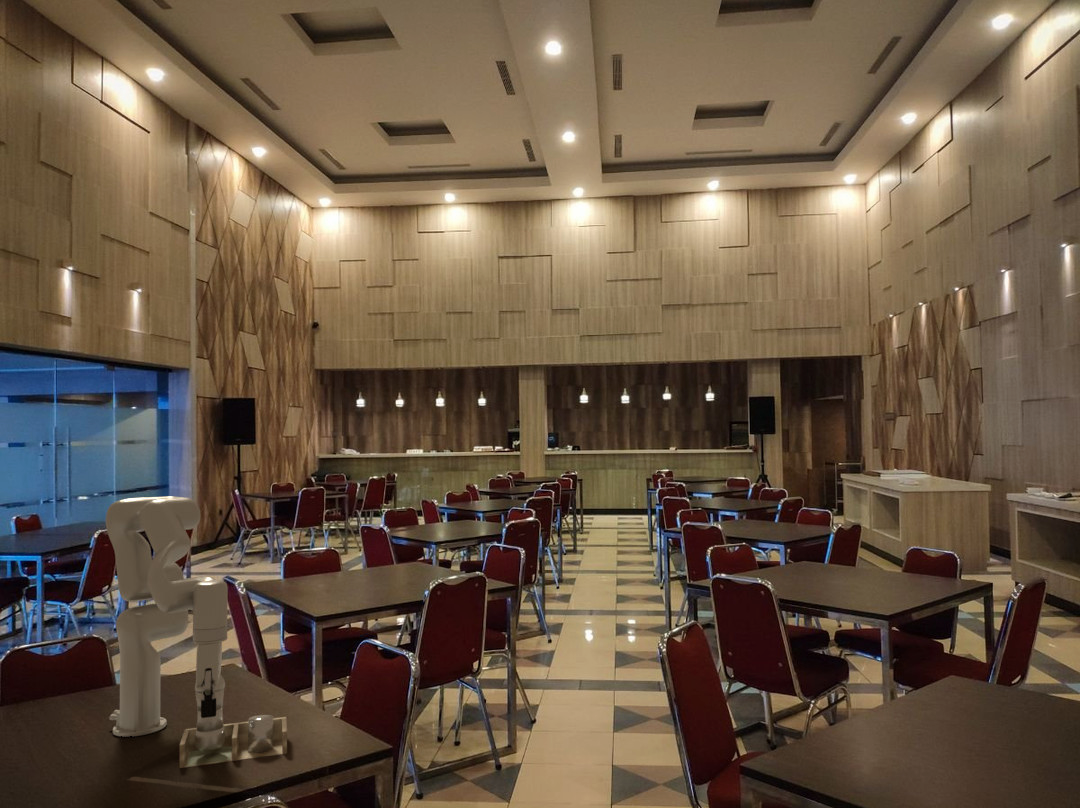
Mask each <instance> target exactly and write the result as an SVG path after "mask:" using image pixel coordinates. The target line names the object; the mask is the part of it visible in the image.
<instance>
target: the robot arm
mask: <svg viewBox="0 0 1080 808" xmlns="http://www.w3.org/2000/svg"><path fill="white" fill-rule="evenodd" d="M106 510H107V511H106V513H105V514H106V515H105V526H106V527H105V528H106V532H107V536H108V538H109V541H110V542H111V545H112V548H113V550H114V551H113V552H114V555H115V556H114V557H115V565H116V566H115V567H116V575H117V584H118V591H119V594H120V597H121V598H122V600H123V601H125V602H138V601H147V600H153V601H154V603H149V604H143V605H136V606H133V607H132V606H131V607H129V608H127V609H125V610H124V611H122V612H121V613H120V614H119V615H118V616H117V619H116V623H115V628H116V635H117V639H118V648H119V709H115V710H114V711H113V712H112V714H110V716H109V717H108V718H109V720H110V721H116V722H115V723H116V724H115V725H114V726H113V728H112V734H113V735H114V736H116V737H121V736H122V737H123V738H129V737H130V736H132V737H139V736H145V735H149V734H152V733H156V732H158V731H160V730H162V729H164V728H165V727H167V724H168V723H167V719H166V718H164V717H161V655H160V654H159V652H158V651H157V649H155V647H153V645H152V643H153V642H155V641H158V640H159V641H161V640H163V639H169V638H174V637H178V636H180V635H182V634H184V633H185V632H186V631H187V628H188V627H189V611H190V610H192V643H193V644H196V646H197V647H196V666H195V668H196V669H195V684H196V687H197V688H199V686H201V685H202V700H201V718H207V717H215V716H216V698H215V687H216V686H217V685H218V683H219V678H220V675H221V671H222V662H223V661H222V660H223V659H222V658H223V655H222V653H223V642H226V641H227V640H228V584H227V582H226V581H224V580H219V579H215V578H214V577H212V576H210V575H209V576H208V575H207V576H206V575H204V576H203V575H201V576H197V577H188V578H185V577H184V574H183V570H182V569H181V567H180V566H179V564H178V563H176V562H177V561H179V560H180V559H182V558H183V557H185V556H186V555H187V554H188V552H189V551H190V549H191V547H192V541H191V538H190V537H189V535H188V532H187V531H186V530H193V529H194V528H196V527H197V526H198V525H199V524H200V521H201V509H200V506H199V505H198V503H197V501H195V500H194V499H192V498H191V497H182V496H173V495H172V496H170V495H168V496H149V497H131V498H124V499H120V500H117V501H114V502H113V503H111V504H110V505H109V506H108V508H107V509H106ZM138 530H144V532H145V534H146V537H147V539H148V541H147V539H146V538H145V537H144V536H143V535H142V534H141V533H139V532H138ZM149 543H150V544H149ZM151 547H152V549H153V552H154V557H153V558H152V551H151V550H152V549H151ZM211 673H212V675H211ZM213 680H214V683H213ZM202 682H203V683H202ZM204 683H205V686H204ZM211 683H213V685H211ZM211 688H213V691H212V689H211Z"/></svg>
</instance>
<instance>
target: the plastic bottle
mask: <svg viewBox="0 0 1080 808" xmlns="http://www.w3.org/2000/svg"><path fill="white" fill-rule="evenodd" d="M211 675H212V673H211ZM202 683H203V682H202ZM213 683H214V680H213ZM213 683H211V685H213ZM204 686H205V683H204ZM225 688H226V681H225V679H224V677H223V675H221V674H220V678H219V683H218V685H217V686H216V687H215V698H216V716H215V717H207V718H201V700H202V685H201V686H199V688H197V687H196V683H195V684H194V691H195V692H194V693H195V700H196V710H197V711H196V712H197V716H196V717H197V719H196V720H197V721H196V728H197V730H196V733H195V746H196V748H197V749H198V750H200V751H210V750H215V749H218V748H220V747H222V745H223V744H224V742H225V736H226V735H225V729H224V715H223V707H224V696H225V695H224V694H225ZM211 689H212V691H213V688H211Z"/></svg>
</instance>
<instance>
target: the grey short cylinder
mask: <svg viewBox="0 0 1080 808" xmlns="http://www.w3.org/2000/svg"><path fill="white" fill-rule="evenodd" d="M273 718H274V716H273V715H271V714H259V715H258V714H257V715H253V716H251V717H249V718H248V720H247V722H248V751H249V752H264V751H268V750H270V749H272V748H273Z"/></svg>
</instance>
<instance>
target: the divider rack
mask: <svg viewBox="0 0 1080 808" xmlns="http://www.w3.org/2000/svg"><path fill="white" fill-rule="evenodd" d="M223 724H224V723H223ZM224 729H225V735H226V736H225V742H224V744H223V745H222V747H220V748H218V749H215V750H210V751H200V750H198V749H197V748H196V746H195V733H196V730H197V727H192V728H186V729H184V730H183V733H182V737H181V739H180V743H179V768H180V769H182V768H188V767H195V766H196V767H197V766H202V765H203V766H204V765H205V766H206V765H211V764H212V765H213V764H218V763H219V764H220V763H225V762H234V761H242V760H247V759H256V758H262V757H263V758H264V757H271V756H277V755H286V754H288V726H287V716H283V717H273V748H272V749H270V750H268V751H264V752H249V751H248V721H242V722H241V721H240V722H234V723H225V724H224Z"/></svg>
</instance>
